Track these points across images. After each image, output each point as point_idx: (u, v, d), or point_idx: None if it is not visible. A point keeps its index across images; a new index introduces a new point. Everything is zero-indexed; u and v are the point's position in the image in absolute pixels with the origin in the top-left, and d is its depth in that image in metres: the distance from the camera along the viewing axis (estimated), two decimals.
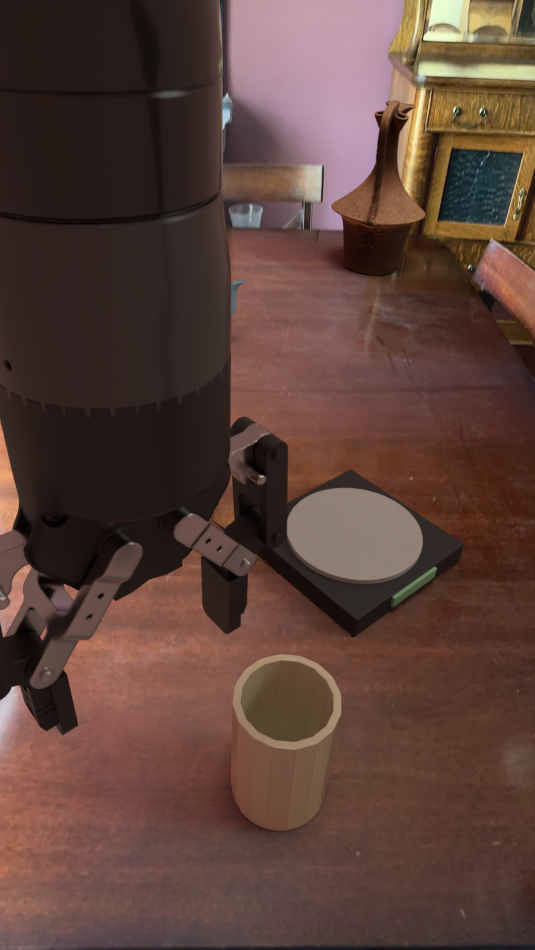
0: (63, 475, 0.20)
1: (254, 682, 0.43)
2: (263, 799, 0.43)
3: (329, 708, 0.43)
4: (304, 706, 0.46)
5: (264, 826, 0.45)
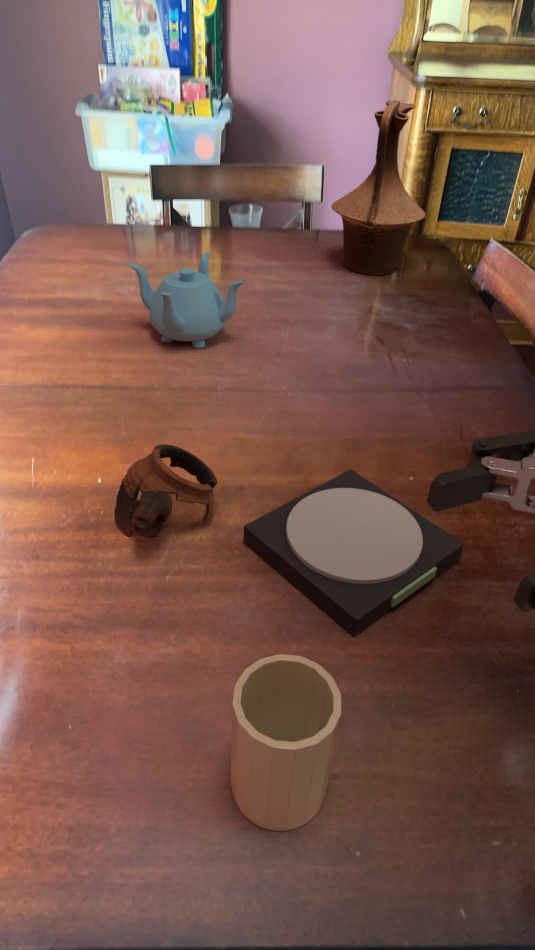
0: None
1: (254, 682, 0.43)
2: (263, 799, 0.43)
3: (329, 708, 0.43)
4: (304, 706, 0.46)
5: (264, 826, 0.45)
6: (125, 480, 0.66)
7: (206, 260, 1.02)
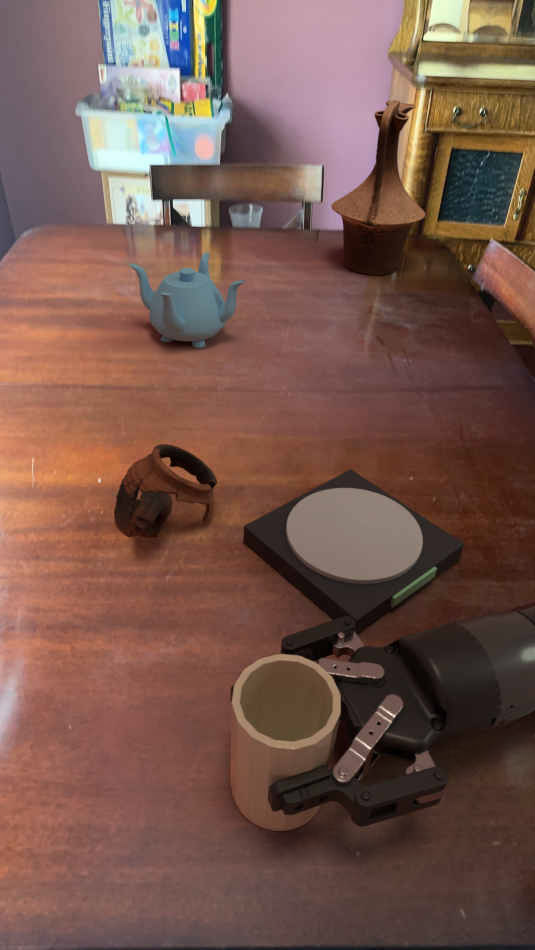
0: (419, 632, 0.48)
1: (253, 682, 0.43)
2: (262, 799, 0.43)
3: (328, 708, 0.43)
4: (304, 706, 0.46)
5: (263, 826, 0.45)
6: (125, 480, 0.66)
7: (206, 260, 1.02)
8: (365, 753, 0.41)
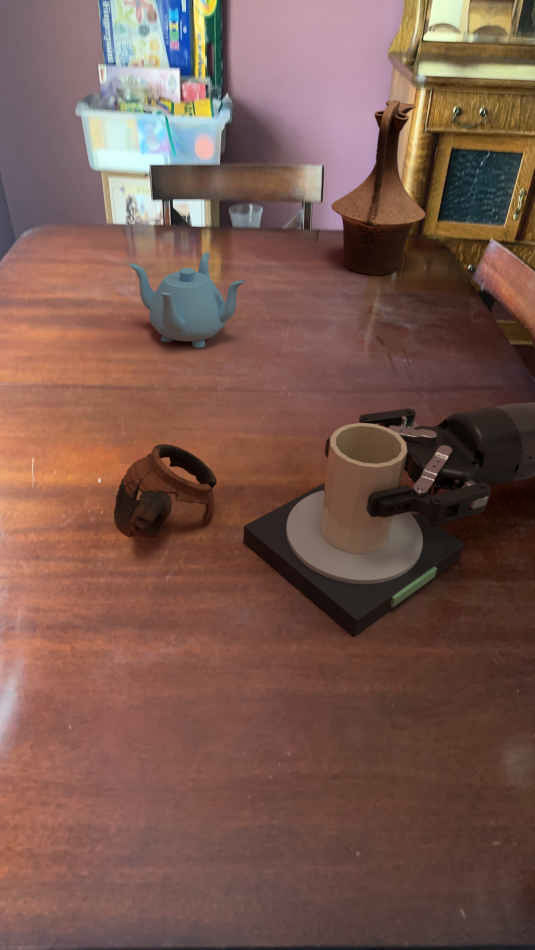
0: None
1: (342, 441, 0.61)
2: (349, 521, 0.60)
3: (396, 457, 0.60)
4: None
5: (347, 549, 0.62)
6: (125, 480, 0.66)
7: (206, 260, 1.02)
8: (433, 477, 0.58)
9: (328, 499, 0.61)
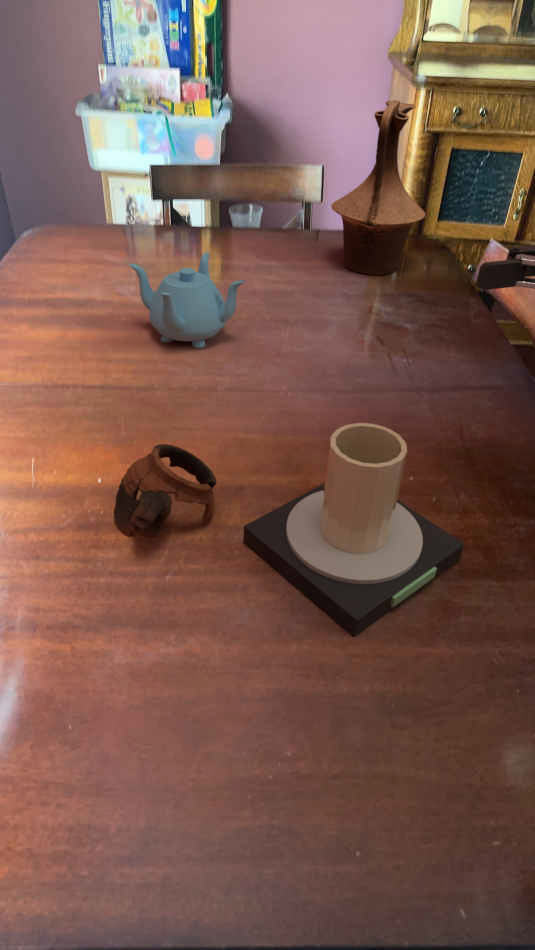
0: None
1: (342, 441, 0.61)
2: (349, 521, 0.60)
3: (396, 457, 0.60)
4: None
5: (347, 549, 0.62)
6: (124, 480, 0.66)
7: (206, 260, 1.02)
8: None
9: (328, 499, 0.61)
